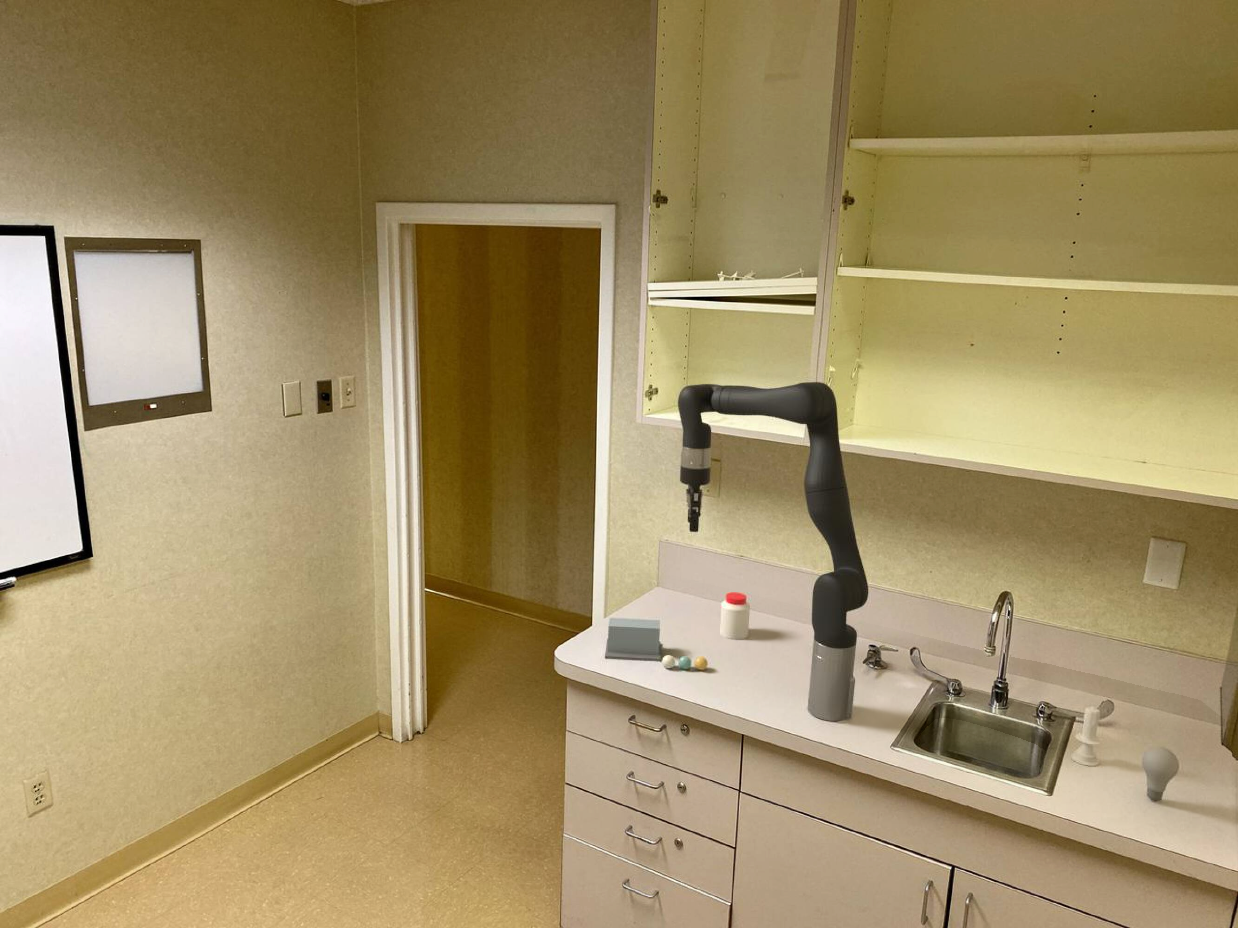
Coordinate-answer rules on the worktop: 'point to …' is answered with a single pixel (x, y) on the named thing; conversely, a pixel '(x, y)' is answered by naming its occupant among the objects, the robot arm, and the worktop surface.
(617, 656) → the mat
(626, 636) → the cover
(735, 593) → the pill bottle
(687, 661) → the marble teal
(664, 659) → the marble white
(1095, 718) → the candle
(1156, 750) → the lightbulb
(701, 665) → the marble amber
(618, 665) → the worktop surface
